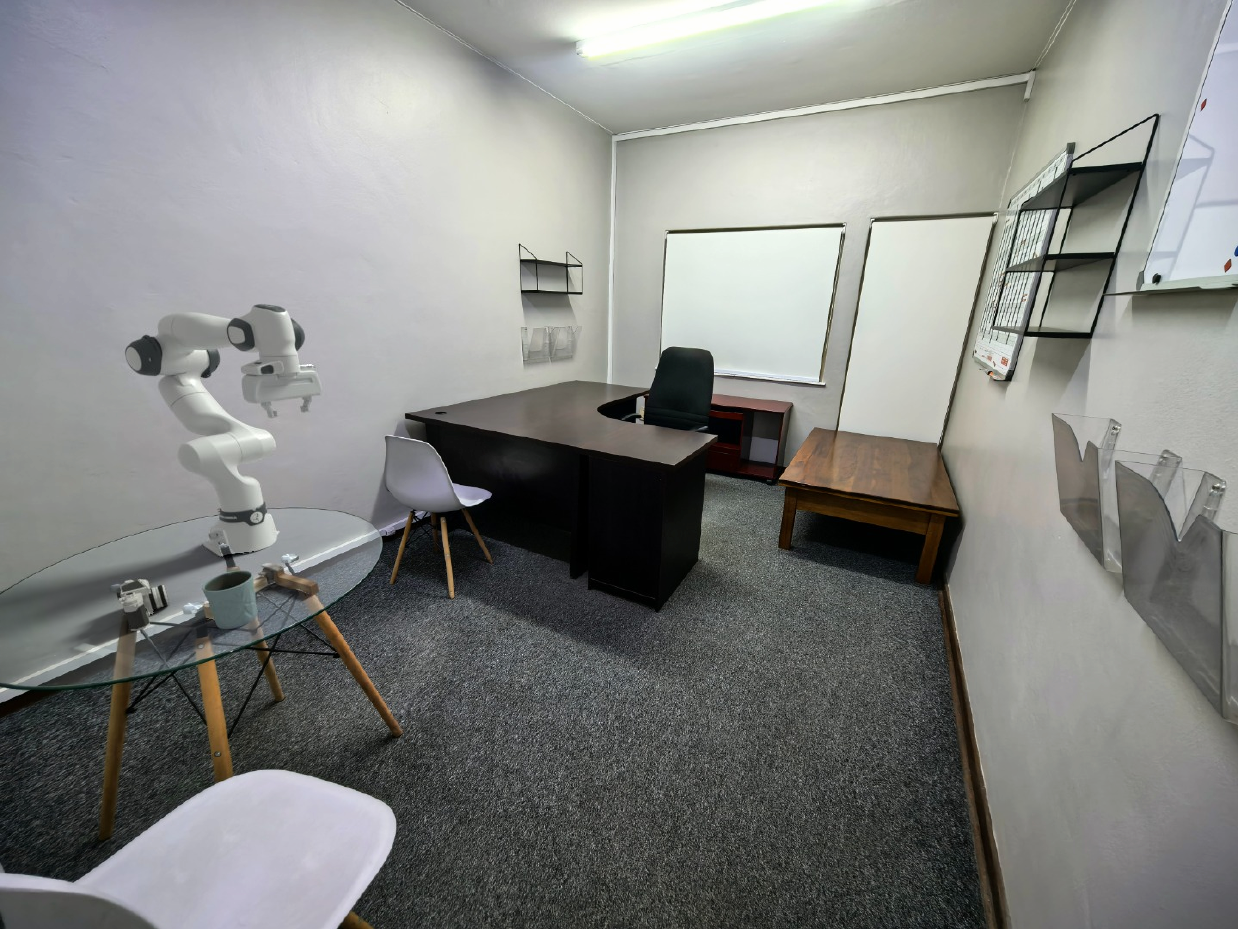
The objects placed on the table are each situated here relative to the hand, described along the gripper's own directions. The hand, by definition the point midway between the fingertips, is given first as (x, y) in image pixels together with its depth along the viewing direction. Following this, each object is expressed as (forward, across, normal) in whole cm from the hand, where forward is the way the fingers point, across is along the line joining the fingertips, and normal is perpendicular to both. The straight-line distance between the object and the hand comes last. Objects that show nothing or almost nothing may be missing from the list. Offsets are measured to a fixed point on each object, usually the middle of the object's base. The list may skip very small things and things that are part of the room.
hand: (289, 414), depth 131 cm
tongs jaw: (+51, +11, -4) cm, 52 cm away
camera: (+51, +33, -20) cm, 64 cm away
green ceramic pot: (+51, +26, +4) cm, 57 cm away
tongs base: (+51, +11, -4) cm, 52 cm away
